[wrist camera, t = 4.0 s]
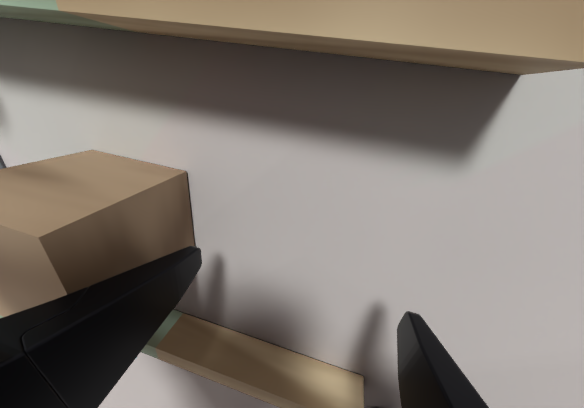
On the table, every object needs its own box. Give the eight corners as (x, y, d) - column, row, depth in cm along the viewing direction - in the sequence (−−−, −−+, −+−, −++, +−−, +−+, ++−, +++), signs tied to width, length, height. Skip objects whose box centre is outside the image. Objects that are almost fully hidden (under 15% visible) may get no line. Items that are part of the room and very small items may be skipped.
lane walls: (355, 390, 14) (355, 484, 11) (66, 285, 19) (-1, 329, 15) (568, -13, 5) (967, -213, 2) (-98, -46, 9) (-367, -129, 6)
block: (196, 261, 13) (100, 359, 8) (118, 237, 14) (-7, 311, 9) (186, 171, 10) (38, 238, 6) (91, 149, 11) (-103, 190, 7)
